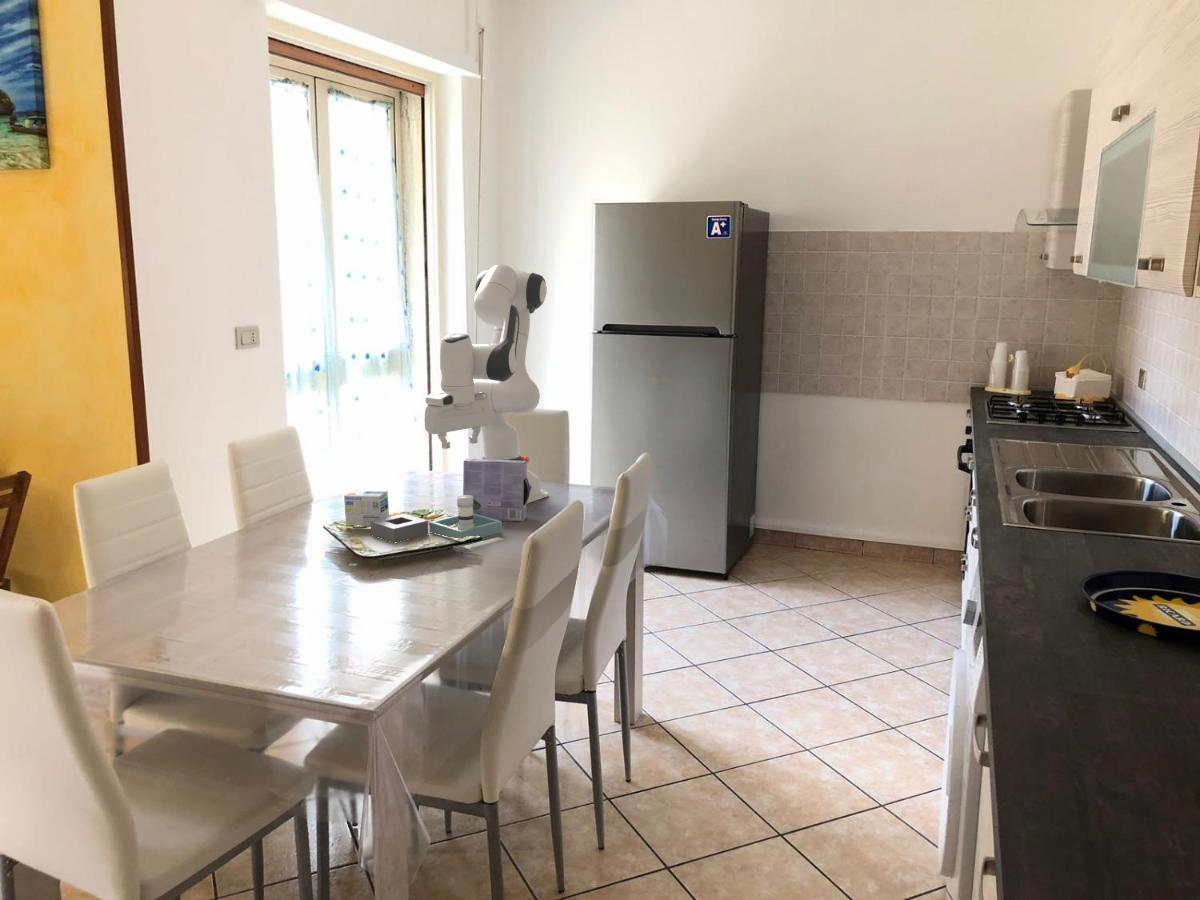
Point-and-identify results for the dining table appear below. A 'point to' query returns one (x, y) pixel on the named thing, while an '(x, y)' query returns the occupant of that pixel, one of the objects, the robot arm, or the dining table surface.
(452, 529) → the parts tray
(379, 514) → the light bulb box
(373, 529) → the bulb socket block
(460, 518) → the white light bulb
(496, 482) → the cake pan box
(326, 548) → the dining table surface
